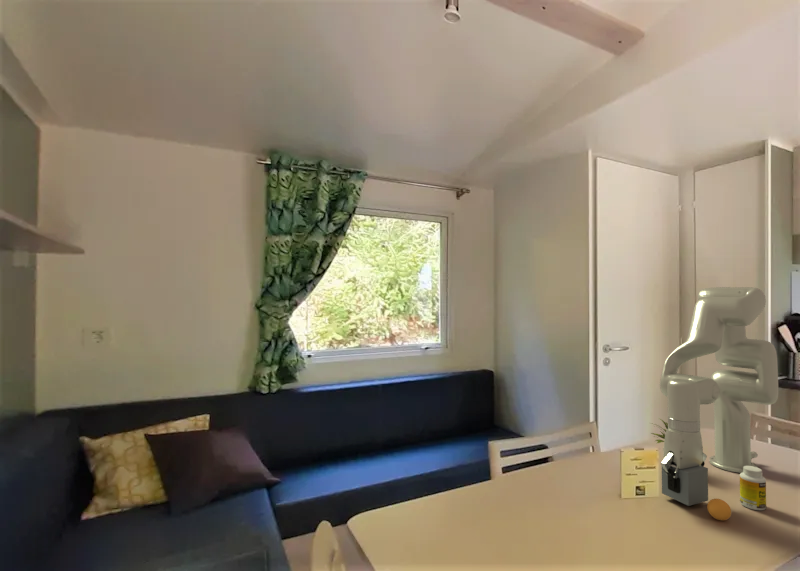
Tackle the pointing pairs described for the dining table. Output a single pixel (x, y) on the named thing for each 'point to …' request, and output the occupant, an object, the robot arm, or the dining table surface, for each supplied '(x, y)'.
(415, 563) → the dining table surface
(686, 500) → the grey rectangular block
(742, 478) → the supplement bottle
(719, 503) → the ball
